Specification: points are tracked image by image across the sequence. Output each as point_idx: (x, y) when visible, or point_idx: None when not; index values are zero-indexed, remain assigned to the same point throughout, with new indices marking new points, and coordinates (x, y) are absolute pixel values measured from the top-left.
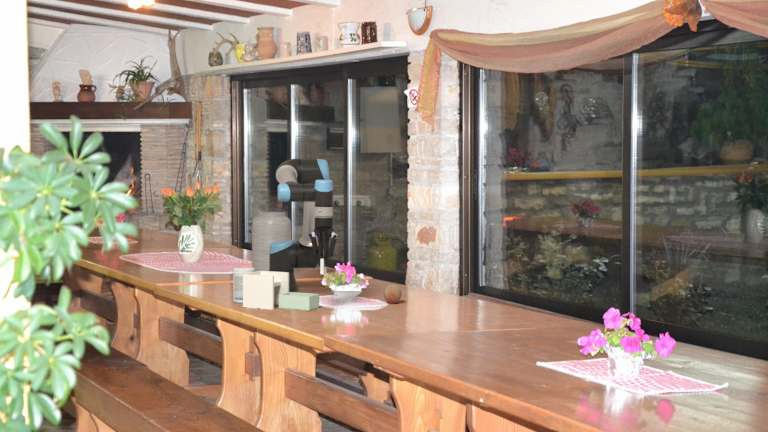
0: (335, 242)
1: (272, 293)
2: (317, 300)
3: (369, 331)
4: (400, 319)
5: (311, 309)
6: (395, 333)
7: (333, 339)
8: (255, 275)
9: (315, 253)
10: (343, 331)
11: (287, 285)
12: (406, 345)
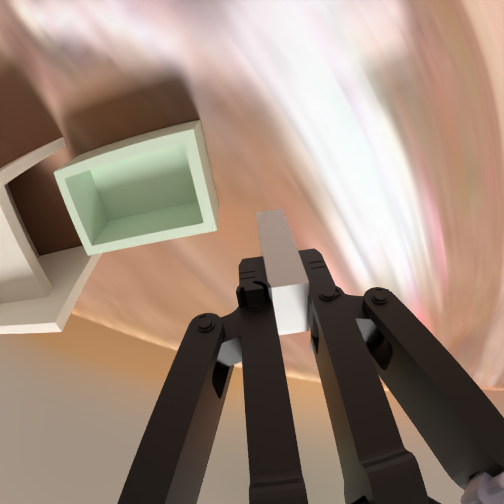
0: (488, 410)
1: (85, 282)
2: (200, 140)
3: (453, 326)
4: (496, 188)
5: (214, 186)
6: (485, 313)
7: None
8: (12, 332)
9: (218, 379)
10: None
11: (23, 171)
12: (486, 352)
